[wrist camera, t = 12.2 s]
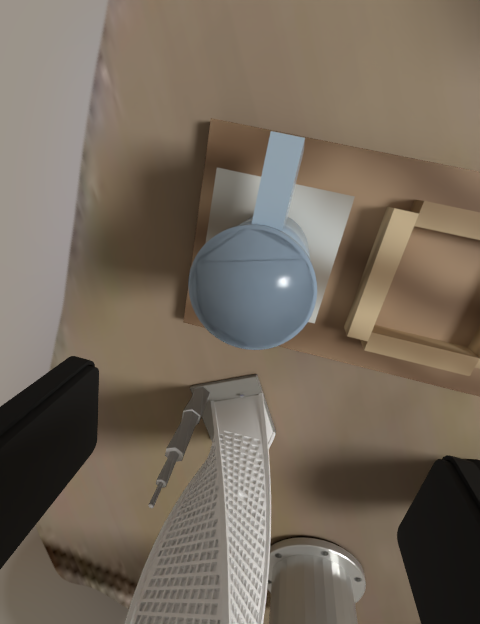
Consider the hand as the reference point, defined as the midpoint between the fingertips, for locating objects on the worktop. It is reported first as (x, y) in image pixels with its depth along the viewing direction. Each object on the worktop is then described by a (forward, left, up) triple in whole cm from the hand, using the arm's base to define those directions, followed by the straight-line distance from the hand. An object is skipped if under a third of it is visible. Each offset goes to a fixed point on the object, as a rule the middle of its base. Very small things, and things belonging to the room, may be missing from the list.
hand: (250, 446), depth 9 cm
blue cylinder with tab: (+3, +1, -18) cm, 18 cm away
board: (+2, -6, -20) cm, 20 cm away
